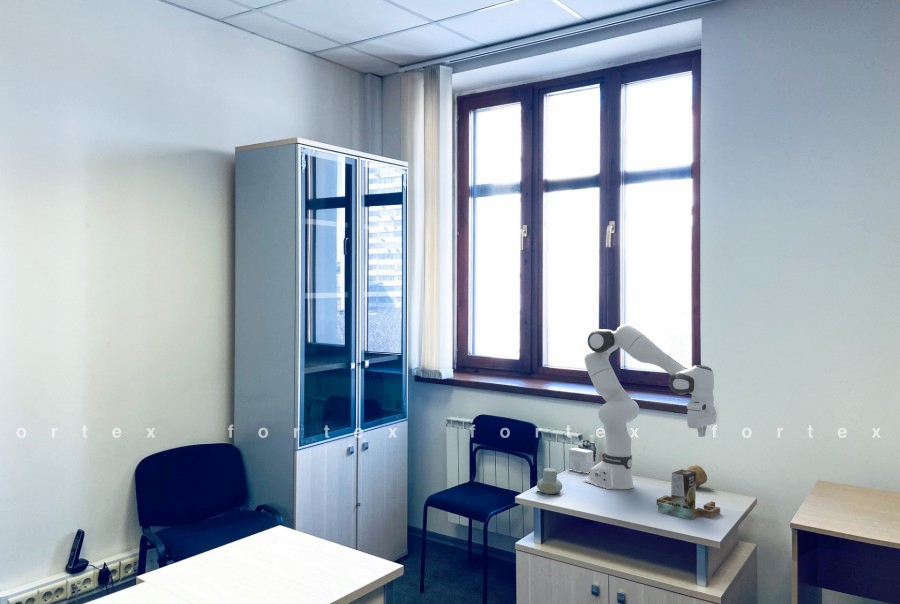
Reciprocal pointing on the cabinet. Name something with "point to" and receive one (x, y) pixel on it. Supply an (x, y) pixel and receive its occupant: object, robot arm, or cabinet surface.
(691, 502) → the coffee box
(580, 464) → the skincare box
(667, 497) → the lane
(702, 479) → the natural sponge
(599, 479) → the robot arm
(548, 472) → the air freshener
